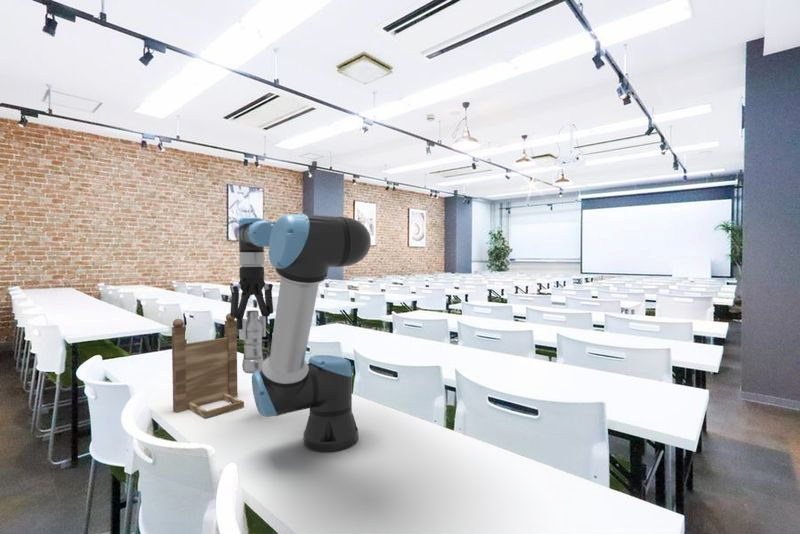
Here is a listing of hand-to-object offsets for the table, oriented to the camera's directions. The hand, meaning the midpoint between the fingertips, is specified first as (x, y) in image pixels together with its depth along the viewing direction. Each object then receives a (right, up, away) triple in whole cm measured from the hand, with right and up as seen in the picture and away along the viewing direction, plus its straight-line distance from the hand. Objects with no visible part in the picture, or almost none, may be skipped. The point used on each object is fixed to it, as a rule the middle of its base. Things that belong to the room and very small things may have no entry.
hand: (252, 337), depth 133 cm
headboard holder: (-15, -25, +8) cm, 30 cm away
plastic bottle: (0, -12, 0) cm, 12 cm away
